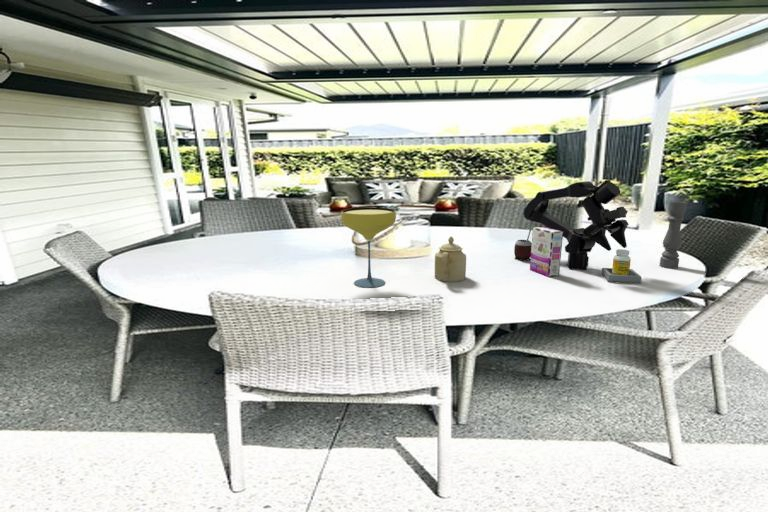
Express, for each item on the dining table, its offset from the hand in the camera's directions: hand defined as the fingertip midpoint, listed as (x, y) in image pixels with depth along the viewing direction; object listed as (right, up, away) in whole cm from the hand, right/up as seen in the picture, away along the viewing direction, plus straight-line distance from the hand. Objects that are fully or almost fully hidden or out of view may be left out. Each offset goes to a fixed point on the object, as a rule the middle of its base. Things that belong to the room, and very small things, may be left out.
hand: (617, 248), depth 154 cm
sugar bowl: (-58, -11, +2) cm, 59 cm away
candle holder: (+28, -7, +17) cm, 34 cm away
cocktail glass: (-87, -12, -3) cm, 88 cm away
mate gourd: (-24, -4, +29) cm, 38 cm away
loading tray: (+1, -11, +1) cm, 11 cm away
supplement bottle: (+1, -10, +1) cm, 10 cm away
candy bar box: (-23, -9, +9) cm, 26 cm away
